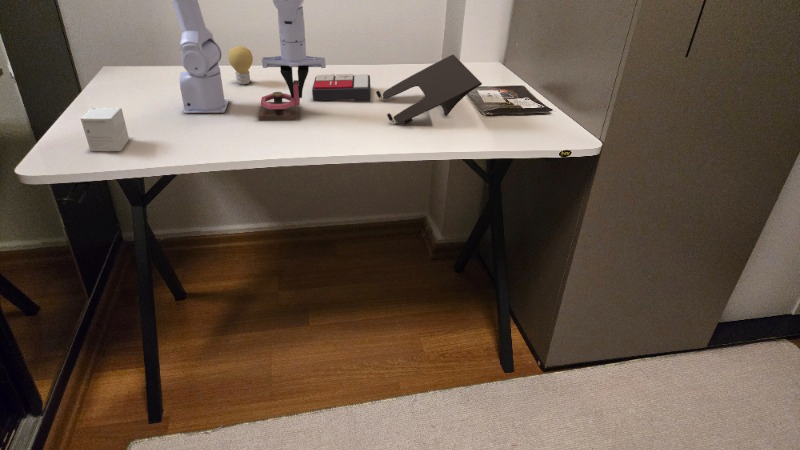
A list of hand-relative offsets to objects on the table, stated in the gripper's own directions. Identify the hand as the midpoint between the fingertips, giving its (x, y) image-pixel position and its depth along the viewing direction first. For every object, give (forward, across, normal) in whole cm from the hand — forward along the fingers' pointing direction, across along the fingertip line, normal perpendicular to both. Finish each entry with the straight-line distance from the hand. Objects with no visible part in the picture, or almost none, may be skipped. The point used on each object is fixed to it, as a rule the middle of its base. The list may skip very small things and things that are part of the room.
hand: (296, 96), depth 128 cm
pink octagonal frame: (+2, -4, 0) cm, 5 cm away
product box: (+4, -38, -17) cm, 42 cm away
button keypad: (+4, +12, +13) cm, 18 cm away
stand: (+4, -4, 0) cm, 6 cm away
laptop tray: (+4, +32, +1) cm, 32 cm away
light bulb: (+4, -16, +22) cm, 27 cm away
